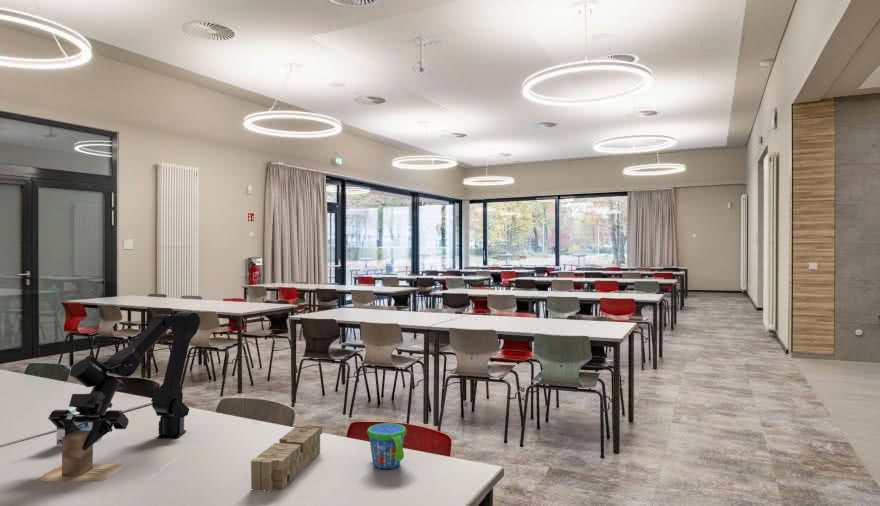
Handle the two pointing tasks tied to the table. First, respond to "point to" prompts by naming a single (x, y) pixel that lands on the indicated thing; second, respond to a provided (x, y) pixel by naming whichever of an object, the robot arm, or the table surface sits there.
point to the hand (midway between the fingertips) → (74, 449)
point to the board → (95, 474)
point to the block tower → (286, 458)
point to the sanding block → (76, 454)
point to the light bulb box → (80, 425)
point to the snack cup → (386, 444)
